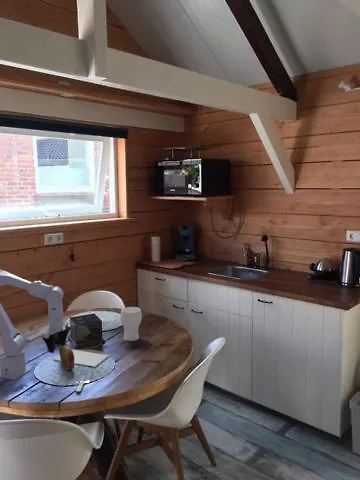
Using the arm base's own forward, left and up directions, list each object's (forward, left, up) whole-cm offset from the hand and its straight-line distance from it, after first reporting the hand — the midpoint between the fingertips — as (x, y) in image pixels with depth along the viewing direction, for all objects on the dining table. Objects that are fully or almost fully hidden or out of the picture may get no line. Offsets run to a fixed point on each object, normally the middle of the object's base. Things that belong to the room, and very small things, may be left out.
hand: (57, 348), depth 173 cm
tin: (+7, 0, -10) cm, 12 cm away
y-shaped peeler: (-3, -14, -10) cm, 18 cm away
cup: (+45, -12, -11) cm, 48 cm away
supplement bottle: (+28, +20, -11) cm, 36 cm away
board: (+15, -2, -10) cm, 19 cm away
